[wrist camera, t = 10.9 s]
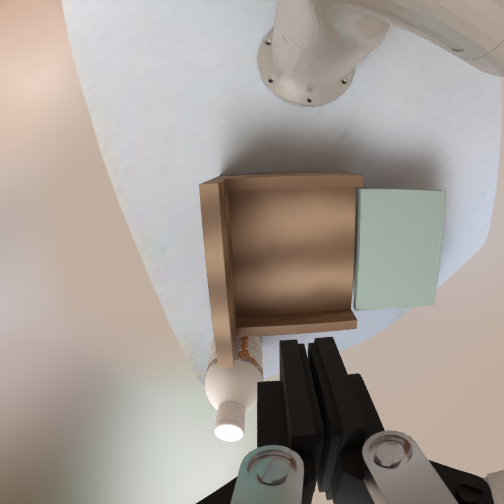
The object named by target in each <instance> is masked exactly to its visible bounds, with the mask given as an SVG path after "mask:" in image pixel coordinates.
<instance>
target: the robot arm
mask: <svg viewBox="0 0 504 504" xmlns="http://www.w3.org/2000/svg"><path fill="white" fill-rule="evenodd" d="M389 23H390V24H393V25H395V26H397V27H399V28H402V29H404V30H408V31H410V32H412V33H414V34H416V35H418V36H420V37H422V38H424V39H426V40H428V41H430V42H432V43H434V44H435V45H437V46H439V47H441V48H443V49H444V50H446V51H448V52H450V53H451V54H453V55H455V56H457V57H458V58H460V59H462V60H463V61H465V62H467V63H468V64H470V65H472V66H474V67H475V68H477V69H479V70H481V71H483V72H485V73H488V74H491V75H495V76H504V0H278V2H277V9H276V16H275V23H274V29H273V30H272V31H270V32H269V33H268V34H267V35H266V37H265V38H264V39H263V41H262V43H261V45H260V48H259V51H258V69H259V72H260V75H261V77H262V79H263V81H264V83H265V84H266V86H267V87H268V88H269V89H270V90H271V91H272V92H273V93H274V94H275V95H276V96H278V97H279V98H281V99H283V100H284V101H287V102H289V103H292V104H295V105H299V106H308V107H313V106H321V105H324V104H327V103H330V102H331V101H333V100H335V99H337V98H338V97H339V96H341V95H342V94H343V93H344V91H345V90H346V89H347V88H348V86H349V85H350V83H351V79H352V76H353V69H354V67H355V66H356V65H357V64H358V63H359V62H360V61H361V60H362V59H364V58H365V57H366V56H367V55H368V54H369V53H370V52H371V51H373V50H374V49H375V48H376V47H377V46H378V45H379V44H380V43H381V42H382V40H383V39H384V37H385V35H386V33H387V31H388V28H389ZM267 43H269V44H270V45H266V44H267ZM269 80H272V81H273V82H272V83H270V82H269ZM341 81H344V84H343V83H342V82H341ZM307 99H310V100H311V102H308V101H307ZM279 347H280V381H265V382H257V448H256V449H254V450H253V451H251V452H249V453H248V454H247V455H246V456H245V457H244V459H243V461H242V463H241V466H240V469H239V473H238V476H237V477H236V478H234V479H233V480H231V481H230V482H229V483H227V484H226V485H224V486H223V487H221V488H220V489H218V490H217V491H215V492H214V493H212V494H210V495H209V496H207V497H206V498H204V499H203V500H201V501H199V502H198V503H196V504H311V502H312V497H313V493H314V491H315V486H316V481H317V484H318V489H319V492H325V493H326V498H327V500H331V499H333V503H334V504H504V470H502V471H498V472H495V473H490V474H487V475H486V477H485V478H481V477H479V476H476V475H473V474H470V473H467V472H463V471H459V470H457V469H454V468H451V467H448V466H445V465H441V464H439V463H436V462H433V461H430V460H428V459H427V458H426V456H425V455H424V453H423V452H422V450H421V449H420V448H419V446H418V445H417V443H416V442H415V441H414V440H413V439H412V438H411V437H410V436H408V435H407V434H405V433H402V432H398V431H385V430H384V428H383V426H382V423H381V421H380V418H379V416H378V413H377V411H376V409H375V407H374V404H373V402H372V399H371V397H370V395H369V393H368V390H367V388H366V386H365V383H364V381H363V379H362V377H361V375H360V374H349V375H348V374H347V372H346V369H345V366H344V364H343V362H342V359H341V356H340V354H339V351H338V349H337V346H336V344H335V341H334V339H333V337H324V338H315V340H314V343H309V345H308V358H307V354H306V350H305V346H304V344H298V341H297V340H280V344H279Z"/></svg>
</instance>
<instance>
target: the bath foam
mask: <svg viewBox="0 0 504 504" xmlns="http://www.w3.org/2000/svg"><path fill="white" fill-rule="evenodd" d="M257 382H263V359H262V336H238V337H237V339H236V349H235V359H234V367H218V362H217V355H216V347H215V339H213V343H212V347H211V352H210V356H209V361H208V365H207V370H206V375H205V390H206V394H207V397H208V399H209V401H210V402H211V404H212V405H213V406H214V407H215V409H216V410H217V416H216V423H215V434H216V436H217V437H218V438H220V439H222V440H225V441H237V440H239V439H241V438H242V437H243V434H244V422H245V421H244V420H245V413H246V412H247V411H248V410H250V409H251V408H252V407H253V406H254V405H255V404H256V402H257Z"/></svg>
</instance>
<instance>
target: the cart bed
mask: <svg viewBox="0 0 504 504" xmlns="http://www.w3.org/2000/svg"><path fill="white" fill-rule="evenodd" d="M355 187H364V175H358V174H351V173H345V172H297V173H267V174H246V175H229V176H218V177H216V178H214V179H211V180H209V181H206V182H204V183H202V184H199V188H200V202H201V214H202V226H203V238H204V248H205V259H206V269H207V279H208V288H209V297H210V306H211V315H212V323H213V331H214V339H215V347H216V355H217V362H218V367H234V359H235V349H236V339H237V337H238V336H265V335H284V334H300V333H314V332H327V331H338V330H349V329H356V328H357V319H356V317H355V315H354V314H353V312H352V310H351V300H352V286H353V269H354V247H355Z"/></svg>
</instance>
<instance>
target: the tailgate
mask: <svg viewBox="0 0 504 504" xmlns="http://www.w3.org/2000/svg"><path fill="white" fill-rule="evenodd" d="M445 193H446V191H442V190H424V189H392V188H358V235H357V260H356V278H355V293H354V306H353V307H354V309H355V311H360V310H376V309H390V308H403V307H415V306H426V305H433V304H434V300H435V294H436V288H437V282H438V275H439V267H440V259H441V250H442V241H443V229H444V215H445Z"/></svg>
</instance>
